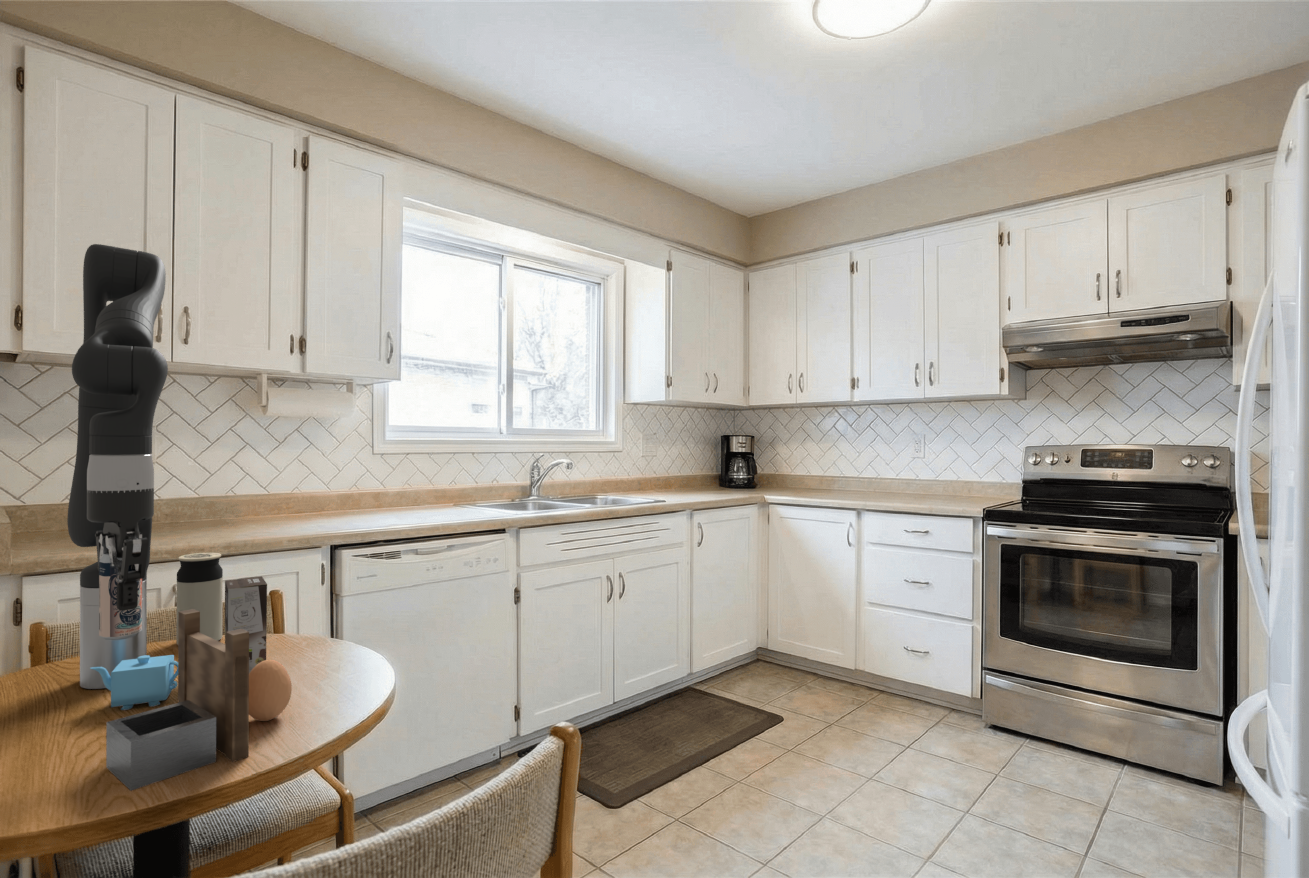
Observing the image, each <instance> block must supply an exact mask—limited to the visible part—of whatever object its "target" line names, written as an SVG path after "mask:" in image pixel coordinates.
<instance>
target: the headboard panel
mask: <svg viewBox="0 0 1309 878" xmlns="http://www.w3.org/2000/svg"><path fill="white" fill-rule="evenodd" d="M177 646H178V647H177V649H178V650H177V651H178V654H177V656H178V657H177V662H178V675H177V703H179V702H183V701H187V700H189V701H191V702H193V703H194V704H196V705H198V706H199V707H201V708H202V709H204V710H206V711H207V712H209V713H210V714H212V715H214V716H215V717H216V751H219V753H222V754H223V755H224V757H225V758H226V759H227V760H229V761H231V762H232V763H234V762H236V761H240V760H241V759H245V758H248V757H249V749H250V746H249V744H250V743H249V742H250V741H249V740H250V739H249V738H250V737H249V735H250V734H249V733H250V729H249V728H250V727H249V723H250V722H249V721H250V719H249V716H250V715H249V632H248V631H246V630H243V629H237V630H233V631H228V632H225V631H224V642H220V640H218V641H217V640H215V639H212V638H210V637H208V636H206V635H204V634H201V633H200V611H197V610H195V609H191V610H185V611H180V612H178V644H177Z"/></svg>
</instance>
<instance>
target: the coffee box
mask: <svg viewBox="0 0 1309 878" xmlns="http://www.w3.org/2000/svg"><path fill="white" fill-rule="evenodd" d="M267 612H268V583H267V582H266V580H265V579H264V577H263V576H254V577H253V576H252V577H243V578H237V579H227V580H224V633H225V632H228V631H233V630H237V629H243V630H246V631H248V632H249V673H250V672H251V670H252V669H253V668H254V667H255V666H256V665H257V664H258V663H260V662H262V661H264V660H267V628H268V626H267V625H268V624H267V623H268V620H267V619H268V618H267V617H268V613H267Z"/></svg>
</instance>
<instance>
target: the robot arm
mask: <svg viewBox="0 0 1309 878" xmlns="http://www.w3.org/2000/svg"><path fill="white" fill-rule="evenodd" d="M86 249H87V250H85V254H84V257H83V258H84V259H83V266H82V267H83V269H82V270H83V271H82V282H83V283H82V285H83V287H82V291H83V301H82V302H83V340H82V341H83V342H82V344H81V345H80V347H79V348H78V349H77V351H76V353H75V354H74V357H73V360H72V364H71V375H72V379H73V380H74V382H75V384H76V385H77V386H78V387H79V388H78V403H77V404H78V405H77V437H76V439H77V441H76V442H77V443H76V454H75V461H74V463H75V464H74V469H73V475H72V481H71V488H70V495H69V500H68V508H67V530H68V535H69V537H70V540H71V541H72V543H73V544H74V545H76V546H77V547H81V548H88V547H89V548H92V547H96V557H97V561H96V562H94V563H92V564H90V565H88V566H87V565H86V566H85V567H84V568H83V569H82V570H80V574H79V686H80V687H81V688H82V689H88V690H91V689H92V690H96V689H98V690H99V689H101V690H102V689H107V688H106V686H105V685H104V682H103V679H102V677H101V675H100V673H99V672H98V671H96V670H93V669H90V668H92V667H104V668H105V669H106V670H107V671H108V673H109V675H110V676H111V672H112V671H113V670H114V669H115V668H116V667H117V665H118V664H119V663H120V662H121V661H122V660H130V659H137V658H138V657H140V656H144V655H147V651H148V649H147V646H148V645H147V642H148V641H147V640H148V639H147V632H148V631H147V629H148V628H147V627H148V626H147V620H148V619H147V618H148V617H147V610H148V609H147V606H148V603H147V600H148V597H147V594H148V593H147V590H148V589H147V587H148V586H147V584H148V582H147V578H148V577H147V575H148V568H149V567H150V566H149V565H150V561H151V544H152V543H151V542H152V531H153V529H152V528H153V517H154V515H155V513H154V512H155V510H154V509H155V467H154V462H153V461H154V460H153V424H154V418H155V412H156V408H157V405H158V402H159V400H160V398H161V395H162V394H161V393H162V391H163V388H164V387H165V383H166V381H167V378H168V373H169V372H168V371H169V368H168V367H169V366H168V362H167V360H166V358H165V356H164V355H163V353H161V352H160V351H159V350H158V349H156V348H153V347H154V327H155V322H156V319H157V316H158V315H159V311H160V309H161V305H162V302H163V300H164V296H165V289H166V282H167V281H166V277H167V276H166V274H167V273H166V267H165V264H164V261H163V260H162V258H161V257H159V255H158V256H157V255H156V254H153V253H150V252H148V251H143V250H142V251H141V250H134V249H129V248H125V247H124V248H123V247H118V246H113V245H108V244H99V243H98V244H97V243H93V244H90V245H89V246H88V247H87V248H86ZM107 302H110V303H109V304H107ZM106 552H108V553H109V557H110V566H111V567H112V568H114V569H115V572H116V582H117V609H118V610H121V611H124V610H130V609H135V608H136V607H137V605H138V582H137V581H140V579H142V631H141V632H139V633H138V634H137V635H135V636H133V637H131V638H127V639H121V640H106V639H104V638H101V637H99V561H100V559H101V557H102V556H103V554H104V553H106ZM117 557H118V558H122V560H118V559H117ZM129 566H132V567H133V571H130V572H128V568H129Z"/></svg>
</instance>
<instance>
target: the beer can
mask: <svg viewBox="0 0 1309 878" xmlns="http://www.w3.org/2000/svg"><path fill="white" fill-rule="evenodd" d="M117 559H118V560H122V558H118V557H117ZM130 571H133V567H132V566H129V568H128V572H130ZM137 582H138V605H137V607H136V608H135V609H130V610H124V611H121V610H118V609H117V582H116V572H115V569H114V568H112V567H111V566H110V557H109V553H108V552H106V553H104V554H103V556H102V557H101V559H100V561H99V637H101V638H104V639H106V640H121V639H127V638H131V637H133V636H135V635H137V634H138V633H139V632H141V631H142V579H140V581H137Z"/></svg>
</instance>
